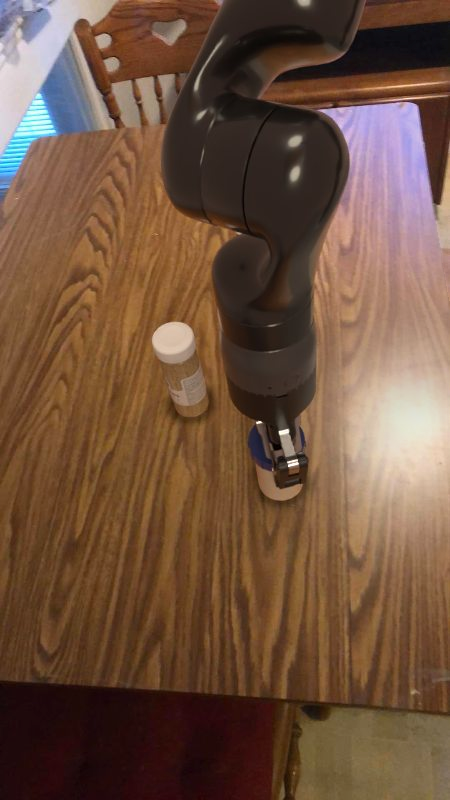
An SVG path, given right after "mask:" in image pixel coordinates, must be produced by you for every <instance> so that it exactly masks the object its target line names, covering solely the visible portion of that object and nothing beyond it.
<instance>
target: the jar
mask: <svg viewBox="0 0 450 800" xmlns="http://www.w3.org/2000/svg"><path fill="white" fill-rule="evenodd" d="M254 464H255V471H256V476H257V477H256V478H257V484H258V487H259V489H260V491H261V492H262V494H264V495H265V496H266V497H267V498H269V499H271V500H274V501H287V500H290V499H293V498H294V497H296V496H297V495H298V494H299V493H300V492H301V490H302V488H303V485H304V484H297V485H295V486H292V487H288V488H284V489H279V488H278V487H276V485H275V481H274V474H273V472H271V471H267V470H265V469H262V468H261V467H259V466H258V465H257V464H256V463H255V462H254Z"/></svg>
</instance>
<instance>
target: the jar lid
mask: <svg viewBox="0 0 450 800" xmlns="http://www.w3.org/2000/svg"><path fill="white" fill-rule="evenodd" d="M299 430H300V437H301V443H302V450H301V451H300V452H298V453H301V452H302V453H305V452H306V447H307V441H306V437H305V432H304V430H303V429H302V427H301V425H300V426H299ZM268 439H269V438H268ZM269 443H274V442H272V441H271V440H270V439H269ZM247 446H248V449H249V454H250V458H251V461H253V462H254V464H255V463H256V464H257V465H258V466H259V467H261V468H262V469H265V470H267V471H271V472H272V469H271V467H272V462H271V459H268V458H267V457H266V454H265V452H264V449H263V444H262V439H261V435H260V434H259V432H258V429H257V426H256V423H255V424H254V425H253V426H252V428H251V429H250V431H249V434H248V439H247ZM280 457H283V456H279V457H278V458H280Z"/></svg>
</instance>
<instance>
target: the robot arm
mask: <svg viewBox="0 0 450 800" xmlns="http://www.w3.org/2000/svg"><path fill="white" fill-rule="evenodd" d="M366 2H367V0H222V1H221V4H220V6H219V8H218V10H217V12H216V14H215V17H214V18H213V20H212V23H211V25H210V27H209V29H208V30H207V33H206V35H205V37H204V40H203V42H202V45H201V46H200V48H199V51H198V53H197V56H196V57H195V60H194V61H193V64H192V65H191V67H190V70H189V71H188V74H187V77H186V78H185V80H184V82H183V85H182V87H181V89H180V91H179V93H178V95H177V97H176V99H175V101H174V104H173V106H172V109H171V110H170V113H169V114H168V115H169V116H168V118H167V122H166V125H165V128H164V132H163V134H162V135H163V136H162V140H161V147H160V173H161V179H162V184H163V187H164V190H165V193H166V195H167V198H168V199H169V202H170V203H171V205H172V206H173V207H174V208H175V210H176V211H178V212H179V213H180V214H181V215H183V216H184V217H187V218H189V219H191V220H193V221H198V222H200V223H204V224H206V225H207V224H208V225H210V226H215V227H218V228H220V229H221V228H222V229H225V230H228V231H232V232H235V233H236V232H239V233H242V234H239V235H234V236H233V237H231V238H230V239H228V240H227V241H225V242H224V243H223V244H222V245H221V246H220V248H219V249H218V250H217V251H216V253H215V254H214V258H213V260H212V264H211V273H210V274H211V275H210V277H211V285H212V287H211V288H212V292H213V298H214V304H215V309H216V316H217V320H218V325H219V326H218V327H219V330H218V331H219V336H218V337H219V338H218V339H219V348H220V354H221V359H222V363H223V370H224V375H225V379H226V384H227V389H228V395H229V398H230V400H231V403H232V405H233V406H234V407H235V408H236V409H237V410H238V412H240V413H241V414H242V415H243V416H245V417H247V418H248V419H250V420H253V421H254V422H255V424H256V426H257V429H258V432H259V434H260V435H261V439H262V444H263V449H264V452H265V454H266V457H267V458H268V459H271V462H272V467H271V469H272V472H273V474H274V481H275V485H276V487H278V488H279V489H284V488H288V487H292V486H295V485H297V484H303V485H304V484H306V481H307V477H308V469H309V457H308V456H307V455H306V453H305V452H304V453H302V452H301V453H298V452H300V451H301V450H302V443H301V437H300V430H299V426H300V427H301V424H302V419H301V415H302V413H303V412H304V411H305V410H306V409H307V408H308V407H309V406H310V404H311V403H312V402H313V399H314V398H315V394H316V390H317V359H318V330H317V325H316V319H315V292H316V291H315V290H316V289H315V287H316V286H315V285H316V283H315V281H316V273H317V270H318V265H319V261H320V257H321V254H322V250H323V247H324V244H325V241H326V238H327V235H328V233H329V230H330V228H331V225H332V223H333V221H334V218H335V216H336V215H337V212H338V210H339V208H340V204H341V201H342V199H343V198H344V194H345V191H346V187H347V184H348V181H349V177H350V170H351V169H350V168H351V156H350V155H351V154H350V151H349V147H348V143H347V140H346V138H345V135H344V133H343V131H342V129H341V127H340V126H339V124H338V123H337V122H336V121H335V120H334V118H333V117H331V116H330V115H328V114H327V113H325V112H323V111H321V110H318V109H315V108H311V107H306V106H301V105H295V104H290V103H289V104H287V103H283V102H277V101H271V100H265V99H261V98H262V96H263V95H264V93H265V92H266V90H268V88H269V87H270V85H271V84H272V83H273V82H274V80H276V78H277V77H278V76H279V75H281V74H283V73H285V72H288V71H290V70H294V69H299V68H304V67H311V66H318V65H323V64H329V63H332V62H334V61H336V60H338V59H340V58H342V56H343V57H344V55H345V54H346V53H347V52H348V51H349V49H350V47H351V46H352V44H353V42H354V40H355V37H356V35H357V32H358V29H359V26H360V23H361V19H362V16H363V12H364V9H365V5H366ZM268 438H269V439H270V440H271V441H272V442H274V443H269V439H268ZM279 456H283V457H280V458H278V457H279Z"/></svg>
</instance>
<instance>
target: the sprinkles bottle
mask: <svg viewBox="0 0 450 800" xmlns="http://www.w3.org/2000/svg"><path fill="white" fill-rule="evenodd" d="M151 345H152V348H153V351H154V354H155V356H156V358H157V359H158V360H159V363H160V366H161V369H162V373H163V376H164V379H165V382H166V386H167V388H168V391H169V394H170V397H171V399H172V402H173V405H174V408H175V411H176V412H177V413H178V414H179V415H180V416H181V417H184V418H196V417H198V416H200V415H202V414H204V412H206V411H207V410H208V407H209V403H210V402H209V401H210V400H209V396H208V392H207V386H206V385H207V384H206V381H205V377H204V373H203V369H202V364H201V361H200V358H199V355H198V352H197V351H198V350H197V341H196V337H195V334H194V331H193V329H192V328H191V327H190V325H188V324H187V323H185V322H181V321H170V322H166V323H164V324H161V325H160V326H158V328H157V329H156V330H155V331H154V333H153V334H152V337H151Z"/></svg>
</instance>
